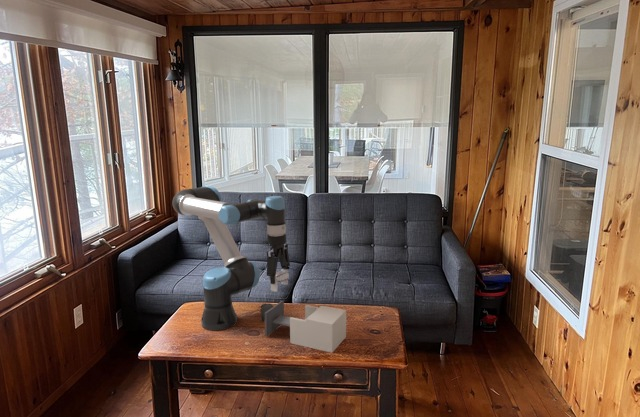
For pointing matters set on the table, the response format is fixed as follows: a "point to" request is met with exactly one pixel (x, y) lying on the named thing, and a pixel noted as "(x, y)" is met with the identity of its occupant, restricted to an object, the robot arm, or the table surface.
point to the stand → (265, 310)
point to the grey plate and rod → (275, 318)
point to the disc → (281, 276)
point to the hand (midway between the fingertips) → (279, 287)
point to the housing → (319, 328)
